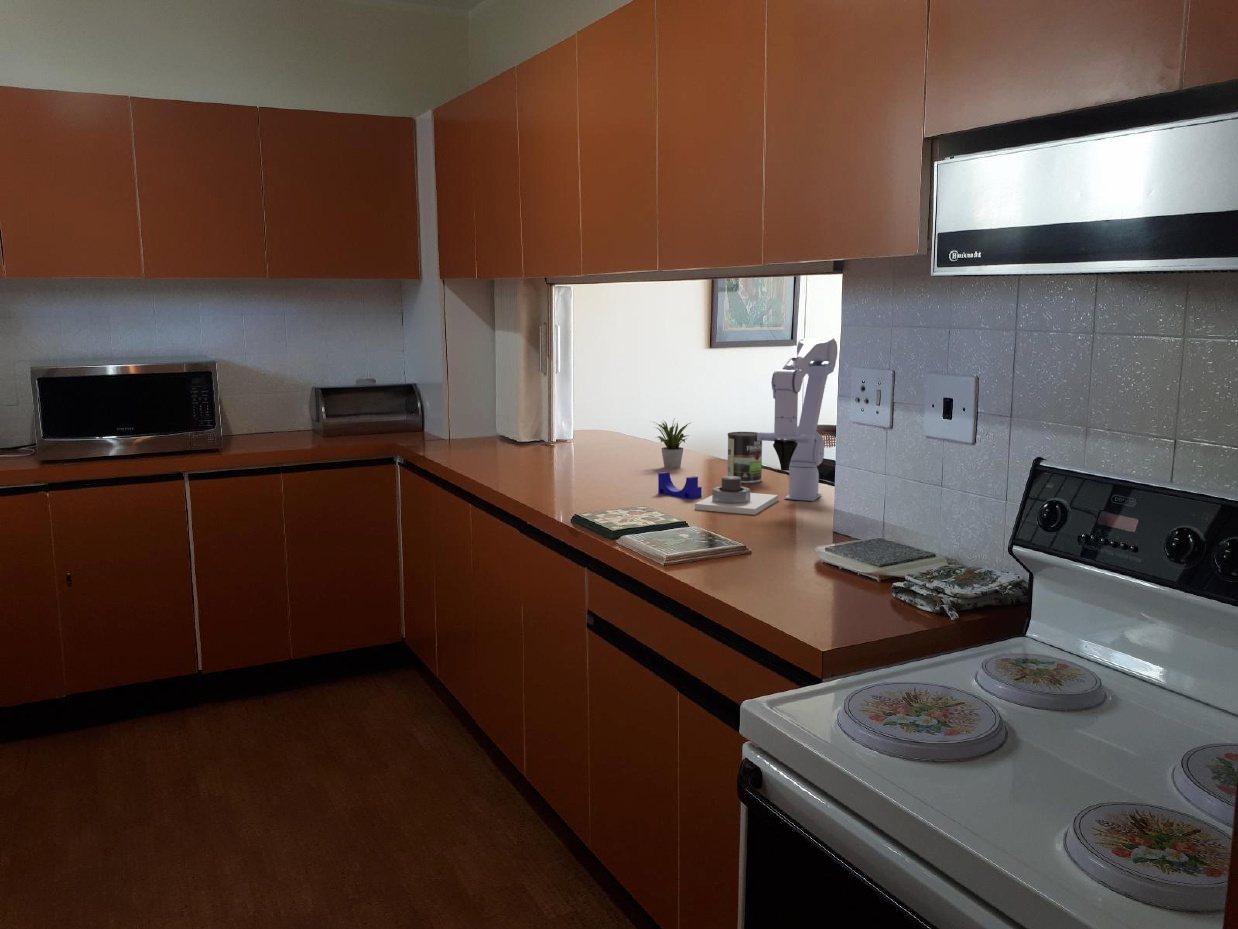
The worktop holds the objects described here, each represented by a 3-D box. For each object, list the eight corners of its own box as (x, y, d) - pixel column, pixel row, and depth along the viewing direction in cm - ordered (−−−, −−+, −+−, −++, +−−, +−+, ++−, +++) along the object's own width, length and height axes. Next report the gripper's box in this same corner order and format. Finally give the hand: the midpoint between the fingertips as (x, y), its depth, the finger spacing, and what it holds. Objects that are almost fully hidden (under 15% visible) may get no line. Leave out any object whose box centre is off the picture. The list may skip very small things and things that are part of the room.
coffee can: (769, 480, 295) (770, 433, 292) (745, 484, 288) (745, 436, 286) (743, 476, 302) (744, 430, 300) (719, 480, 296) (720, 433, 294)
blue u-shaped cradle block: (701, 497, 270) (701, 476, 269) (690, 500, 267) (690, 478, 266) (669, 492, 279) (669, 471, 278) (658, 494, 276) (658, 472, 275)
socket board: (721, 496, 271) (721, 479, 271) (778, 500, 264) (778, 484, 264) (694, 509, 253) (694, 492, 253) (754, 514, 247) (755, 497, 246)
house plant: (640, 469, 315) (640, 418, 313) (652, 463, 328) (652, 414, 326) (684, 471, 311) (684, 420, 308) (694, 465, 324) (695, 415, 321)
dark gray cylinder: (725, 498, 261) (725, 475, 260) (743, 499, 258) (743, 476, 258) (718, 501, 256) (718, 478, 255) (737, 502, 254) (737, 479, 253)
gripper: (753, 417, 251) (752, 470, 253) (809, 420, 245) (808, 474, 247) (762, 414, 257) (761, 466, 259) (817, 417, 251) (816, 470, 253)
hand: (784, 470), depth 253 cm, fingers closed
